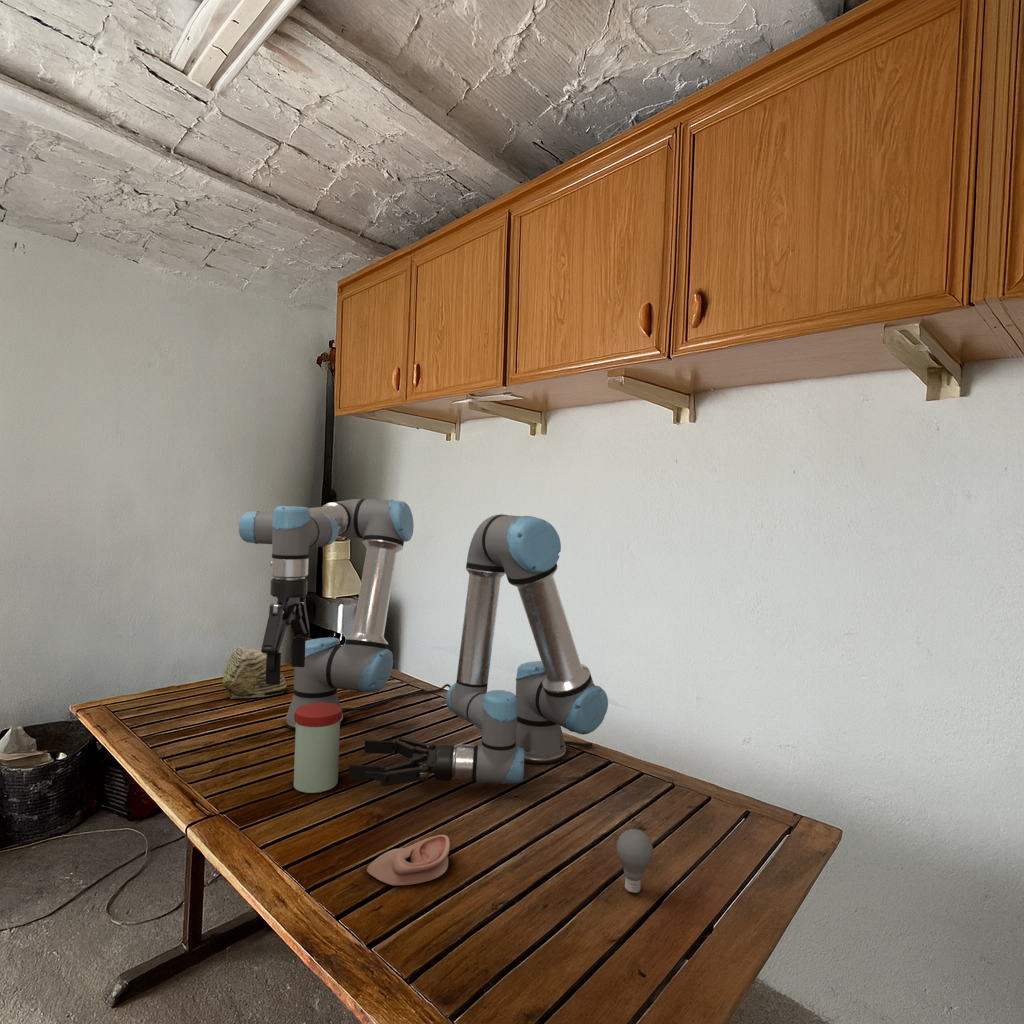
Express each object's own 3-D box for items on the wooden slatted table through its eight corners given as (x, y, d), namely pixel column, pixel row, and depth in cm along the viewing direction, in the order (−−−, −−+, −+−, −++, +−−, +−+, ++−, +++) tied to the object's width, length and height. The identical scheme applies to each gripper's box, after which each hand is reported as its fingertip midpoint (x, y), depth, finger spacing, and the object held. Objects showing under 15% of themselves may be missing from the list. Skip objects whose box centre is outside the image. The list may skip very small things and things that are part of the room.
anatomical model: (359, 856, 105) (387, 822, 116) (358, 879, 105) (386, 843, 116) (435, 869, 102) (456, 833, 114) (434, 893, 103) (455, 855, 114)
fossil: (218, 695, 195) (220, 647, 195) (278, 685, 208) (279, 640, 207) (228, 703, 189) (230, 653, 188) (289, 692, 201) (290, 645, 201)
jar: (287, 780, 141) (289, 709, 140) (327, 770, 147) (330, 702, 146) (302, 796, 133) (305, 722, 133) (344, 785, 139) (347, 714, 139)
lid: (287, 715, 140) (287, 707, 140) (331, 708, 147) (331, 699, 147) (304, 729, 133) (304, 720, 133) (349, 721, 139) (349, 712, 139)
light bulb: (610, 879, 108) (613, 822, 108) (644, 879, 109) (647, 822, 109) (619, 902, 102) (622, 840, 102) (655, 901, 103) (658, 840, 103)
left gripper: (294, 570, 150) (291, 659, 150) (245, 584, 125) (241, 691, 125) (326, 571, 149) (322, 661, 150) (282, 586, 124) (279, 693, 125)
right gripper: (447, 807, 127) (341, 802, 127) (458, 756, 152) (370, 752, 152) (448, 769, 127) (343, 765, 127) (459, 725, 152) (371, 721, 152)
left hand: (286, 675), depth 137 cm, fingers open, 13 cm apart
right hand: (357, 758), depth 139 cm, fingers open, 13 cm apart
